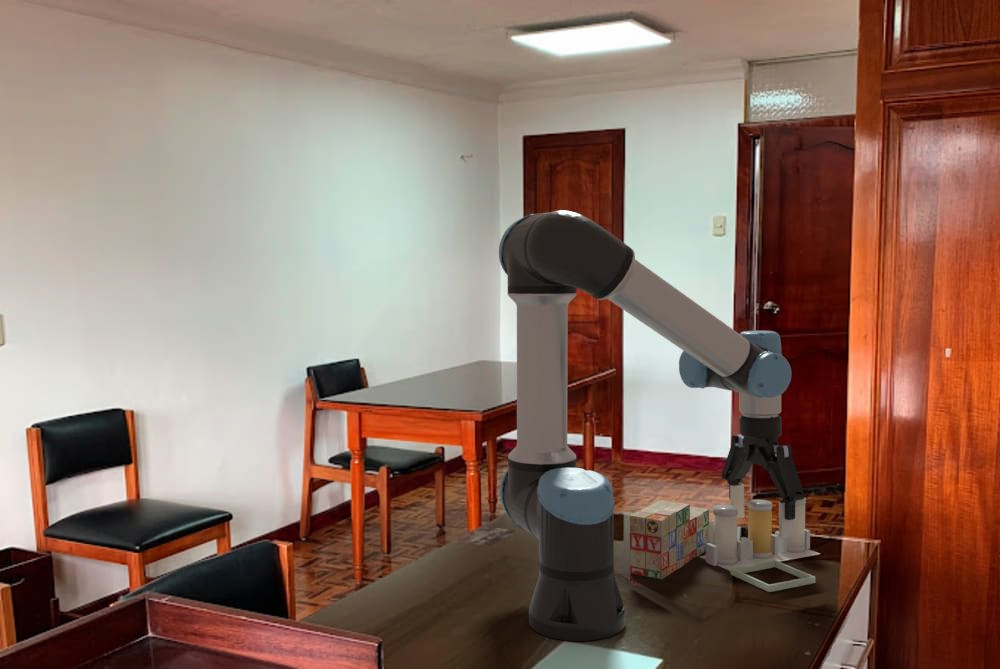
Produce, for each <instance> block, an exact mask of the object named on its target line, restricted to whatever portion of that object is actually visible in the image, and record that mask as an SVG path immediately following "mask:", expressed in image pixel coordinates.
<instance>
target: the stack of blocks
mask: <svg viewBox="0 0 1000 669" xmlns="http://www.w3.org/2000/svg"><path fill="white" fill-rule="evenodd" d="M710 535H711V526H710V509H709V508H704V507H703V508H702V507H696V506H690V504H689V503H683V502H676V501H668V500H662V499H661V500H660V499H659V500H657V501H655V502H653V503H652V504H650V505H648V506H646V507H644V508H641V509H640V510H638V511H635V512H634V513H632V514H630V515H629V556H630V558H629V559H630V560H629V562H630V565H629V568H630V569H629V572H630V574H633V575H637V576H643V577H649V578H654V579H659V580H663V579H665V578H666V577H668V576H669V575H671V574H673V573H674V572H675V571H677V570H679V569H680V568H681V569H682V567H684V566H685V565H687V563H689V562H690V561H691V560H694V558H696V557H699V556H701V555H702V554H703V553H704V552H706V543H710V538H711V536H710ZM629 581H630V582H631V581H633V582H632V583H635V582H637V583H636V584H640V582H639V581H637V580H636V579H634V578H632V577H630V579H629Z"/></svg>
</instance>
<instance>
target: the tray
mask: <svg viewBox="0 0 1000 669" xmlns="http://www.w3.org/2000/svg"><path fill="white" fill-rule="evenodd" d="M772 568H777V569H779V570H781V571H783V572H785V573H788V574H791V575H793V576H795V577H797V578H795V579H791V580H787V581H785V580H784V581H782V582H775V583H771V584H769V583H766V582H765V581H762V580H760V579H757V578H756V577H753V576H751V575H749V574H747V573H750V572H758V571H762V570H766V569H772ZM729 572H730V575H731V576H733V577H735V578H737V579H740V580H742V581H744V582H746V583H748V584H750V585H752V586H755V587H757V588H759V589H761V590H763V591H765V592H768V593H771V592H772V593H773V592H777V591H782V590H786V589H787V590H788V589H791V588H797V587H802V586H806V585H812V584H816V576H815V575H812V574H810V573H807V572H805V571H802V570H800V569H797V568H795V567H792V566H791V565H788V564H785V563H783V562H782V561H781V562H778V561H776V560H774V561H768V562H763V563H757V564H752V565H747V566H741V567H736V568H730V571H729Z"/></svg>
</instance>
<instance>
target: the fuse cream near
mask: <svg viewBox="0 0 1000 669" xmlns="http://www.w3.org/2000/svg"><path fill="white" fill-rule="evenodd" d="M712 514H713V519H712V520H713V521H712V522H713V524H712V525H713V526H712V527H713V528H712V529H713V530H712V534H713V536H712V538H713V539H712V540H713V541H712V542H713V543H712V544H713V545H715V546H718V564H720V565H734V564H737V539H738V519H737V514H738V508H737V507H735V506H732V505H731V504H717V505H713V507H712Z"/></svg>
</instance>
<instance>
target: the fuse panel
mask: <svg viewBox="0 0 1000 669" xmlns="http://www.w3.org/2000/svg"><path fill="white" fill-rule="evenodd" d="M771 550H772V557H771V558H768V559H757V558H753V540H751V539H748V537H745V536H741V537H740V539H738V538H737V564H734V565H720V564H718V546H715V545H713V543H706V551H705V554H704V555H699V556H698V557H699V558H701V559H703V560H705V563H707V564H709V565H711V566H712V567H716V566H718V567H720V568H723V569H725V570H726V571H729V572H730V568H736V567H741V566H747V565H752V564H757V563H763V562H768V561H774V560H776V561H778V562H781V563H782V562H785V561H790V560H791V561H792V560H796V559H801V558H806V557H812V556H819V555H820V552H817V551H815V550H811V530H810V529H806V528H805V551H804V552H801V553H792V552H787V537H784V538H781V537H779V530H778V531H774V533H772V543H771Z"/></svg>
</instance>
